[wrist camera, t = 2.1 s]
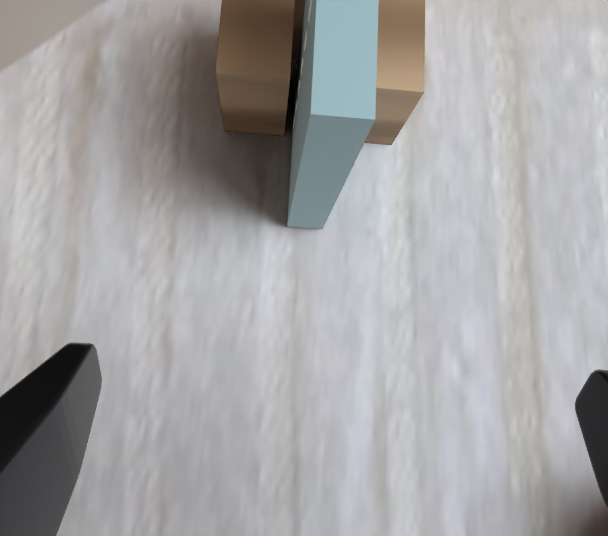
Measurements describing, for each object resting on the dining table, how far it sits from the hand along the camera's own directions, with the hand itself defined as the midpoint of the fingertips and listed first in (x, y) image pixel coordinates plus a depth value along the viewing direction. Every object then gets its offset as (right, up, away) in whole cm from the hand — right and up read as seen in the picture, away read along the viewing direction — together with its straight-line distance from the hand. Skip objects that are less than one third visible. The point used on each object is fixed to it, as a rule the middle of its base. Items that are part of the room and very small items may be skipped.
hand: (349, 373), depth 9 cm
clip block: (0, +11, +16) cm, 19 cm away
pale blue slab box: (-1, +7, +15) cm, 17 cm away
